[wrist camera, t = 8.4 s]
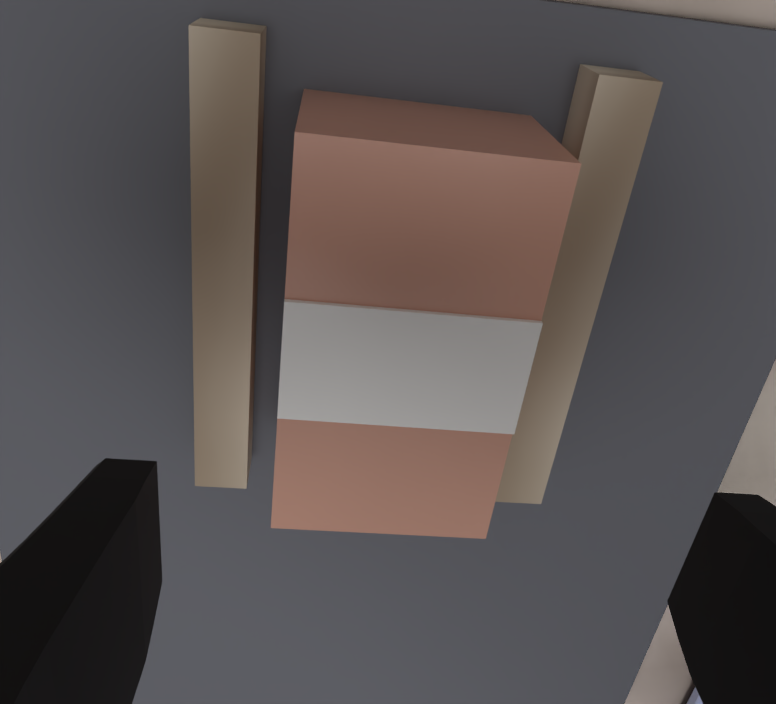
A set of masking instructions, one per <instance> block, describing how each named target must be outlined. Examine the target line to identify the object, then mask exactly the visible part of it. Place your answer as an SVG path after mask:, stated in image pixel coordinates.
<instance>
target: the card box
mask: <svg viewBox="0 0 776 704" xmlns="http://www.w3.org/2000/svg"><path fill="white" fill-rule="evenodd" d="M580 168H581V163H580V162H579V161H578V160H577V159H576V158H575V157H574V156H573V155H572V154H571V153H570V152H569V151H568V150H567V149H566V148H564V147H563V146H562V145H561V144H560V143H559V142H558V141H557V140H556V139H555V138H554V137H553V136H552V135H551V134H550V133H549V132H548V131H547V130H546V129H545V128H543V127H542V126H541V125H540V124H539V123H538V122H537V121H536V120H535V119H534V118H533V117H532V116H531V115H523V114H514V113H506V112H497V111H489V110H480V109H472V108H463V107H455V106H446V105H438V104H430V103H421V102H413V101H404V100H396V99H387V98H379V97H370V96H362V95H353V94H345V93H336V92H328V91H319V90H311V89H304V91H303V95H302V100H301V105H300V109H299V114H298V119H297V123H296V128H295V134H294V150H293V167H292V183H291V200H290V217H289V233H288V250H287V266H286V283H285V299H284V312H283V329H282V346H281V362H280V379H279V396H278V412H277V432H276V449H275V465H274V482H273V498H272V515H271V528H279V529H299V530H319V531H339V532H358V533H378V534H398V535H418V536H438V537H458V538H478V539H486V536H487V532H488V528H489V524H490V520H491V517H492V513H493V509H494V505H495V501H496V497H497V493H498V489H499V485H500V481H501V477H502V473H503V470H504V466H505V462H506V458H507V454H508V450H509V446H510V442H511V438H512V434H515V430H516V426H517V422H518V418H519V414H520V410H521V406H522V403H523V399H524V395H525V391H526V387H527V383H528V379H529V375H530V371H531V368H532V364H533V360H534V356H535V352H536V348H537V344H538V340H539V336H540V332H541V329H542V325H543V323H542V317H543V313H544V309H545V305H546V301H547V297H548V293H549V289H550V285H551V281H552V278H553V274H554V270H555V266H556V262H557V258H558V254H559V250H560V246H561V242H562V238H563V234H564V230H565V227H566V223H567V219H568V215H569V211H570V207H571V203H572V199H573V195H574V191H575V187H576V183H577V180H578V176H579V172H580Z"/></svg>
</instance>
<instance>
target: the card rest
mask: <svg viewBox="0 0 776 704" xmlns="http://www.w3.org/2000/svg"><path fill="white" fill-rule="evenodd" d="M266 29H267V26H263V25H255V24H246V23H238V22H230V21H222V20H214V19H205V18H199V19H198V20H196V21H194V22H193V23H191V24H190V25H189V96H190V168H191V240H192V312H193V384H194V457H195V486H204V487H223V488H242V489H247V483H248V477H249V471H250V465H251V459H252V437H253V407H254V378H255V349H256V320H257V291H258V262H259V233H260V204H261V175H262V146H263V117H264V88H265V58H266ZM662 84H663V82H662V81H659V80H657V79H655V78H653V77H651V76H649V75H647V74H644V73H642V72H640V71H633V70H625V69H617V68H609V67H601V66H592V65H584V64H580V67H579V71H578V76H577V80H576V84H575V88H574V93H573V97H572V101H571V106H570V110H569V114H568V118H567V123H566V127H565V131H564V136H563V140H562V144H561V145H562V146H563V147H564V148H566V149H567V150H568V151H569V152H570V153H571V154H572V155H573V156H574V157H575V158H576V159H577V160H578V161H579V162H580V163H581V168H580V172H579V176H578V180H577V183H576V187H575V191H574V195H573V199H572V203H571V207H570V211H569V215H568V219H567V223H566V227H565V230H564V234H563V238H562V242H561V246H560V250H559V254H558V258H557V262H556V266H555V270H554V274H553V278H552V281H551V285H550V289H549V293H548V297H547V301H546V305H545V309H544V313H543V317H542V323H543V325H542V329H541V332H540V336H539V340H538V344H537V348H536V352H535V356H534V360H533V364H532V368H531V371H530V375H529V379H528V383H527V387H526V391H525V395H524V399H523V403H522V406H521V410H520V414H519V418H518V422H517V426H516V430H515V434H512V438H511V442H510V446H509V450H508V454H507V458H506V462H505V466H504V470H503V473H502V477H501V481H500V485H499V489H498V493H497V497H496V501H495V502H510V503H529V504H541V503H542V499H543V496H544V492H545V489H546V485H547V482H548V478H549V475H550V471H551V468H552V465H553V461H554V458H555V454H556V451H557V447H558V444H559V440H560V437H561V433H562V430H563V426H564V423H565V420H566V416H567V413H568V409H569V406H570V402H571V399H572V395H573V392H574V388H575V385H576V382H577V378H578V375H579V371H580V368H581V364H582V361H583V357H584V354H585V350H586V347H587V344H588V340H589V337H590V333H591V330H592V326H593V323H594V319H595V316H596V312H597V309H598V306H599V302H600V299H601V295H602V292H603V288H604V285H605V281H606V278H607V274H608V271H609V268H610V264H611V261H612V257H613V254H614V250H615V247H616V243H617V240H618V236H619V233H620V230H621V226H622V223H623V219H624V216H625V212H626V209H627V205H628V202H629V198H630V195H631V191H632V188H633V185H634V181H635V178H636V174H637V171H638V167H639V164H640V160H641V157H642V153H643V150H644V147H645V143H646V140H647V136H648V133H649V129H650V126H651V122H652V119H653V115H654V112H655V109H656V105H657V102H658V98H659V95H660V91H661V88H662Z"/></svg>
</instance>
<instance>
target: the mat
mask: <svg viewBox="0 0 776 704" xmlns="http://www.w3.org/2000/svg"><path fill="white" fill-rule="evenodd" d="M199 18H205V19H214V20H222V21H230V22H238V23H246V24H255V25H263V26H267V29H266V58H265V88H264V117H263V146H262V175H261V204H260V233H259V262H258V291H257V320H256V349H255V378H254V407H253V437H252V459H251V465H250V471H249V477H248V483H247V489H242V488H223V487H204V486H195V457H194V384H193V312H192V240H191V168H190V96H189V25H190V24H191V23H193V22H194V21H196V20H198V19H199ZM580 64H584V65H592V66H601V67H609V68H617V69H625V70H633V71H640V72H642V73H644V74H647V75H649V76H651V77H653V78H655V79H657V80H659V81H662V82H663V84H662V88H661V91H660V95H659V98H658V102H657V105H656V109H655V112H654V115H653V119H652V122H651V126H650V129H649V133H648V136H647V140H646V143H645V147H644V150H643V153H642V157H641V160H640V164H639V167H638V171H637V174H636V178H635V181H634V185H633V188H632V191H631V195H630V198H629V202H628V205H627V209H626V212H625V216H624V219H623V223H622V226H621V230H620V233H619V236H618V240H617V243H616V247H615V250H614V254H613V257H612V261H611V264H610V268H609V271H608V274H607V278H606V281H605V285H604V288H603V292H602V295H601V299H600V302H599V306H598V309H597V312H596V316H595V319H594V323H593V326H592V330H591V333H590V337H589V340H588V344H587V347H586V350H585V354H584V357H583V361H582V364H581V368H580V371H579V375H578V378H577V382H576V385H575V388H574V392H573V395H572V399H571V402H570V406H569V409H568V413H567V416H566V420H565V423H564V426H563V430H562V433H561V437H560V440H559V444H558V447H557V451H556V454H555V458H554V461H553V465H552V468H551V471H550V475H549V478H548V482H547V485H546V489H545V492H544V496H543V499H542V503H541V504H529V503H510V502H495V505H494V509H493V513H492V517H491V520H490V524H489V528H488V532H487V536H486V539H478V538H458V537H438V536H418V535H398V534H378V533H358V532H339V531H319V530H299V529H279V528H271V515H272V498H273V482H274V465H275V449H276V432H277V412H278V396H279V379H280V362H281V346H282V329H283V312H284V299H285V283H286V266H287V250H288V233H289V217H290V200H291V183H292V167H293V150H294V134H295V128H296V123H297V119H298V114H299V109H300V105H301V100H302V95H303V91H304V89H311V90H319V91H328V92H336V93H345V94H353V95H362V96H370V97H379V98H387V99H396V100H404V101H413V102H421V103H430V104H438V105H446V106H455V107H463V108H472V109H480V110H489V111H497V112H506V113H514V114H523V115H531V116H532V117H533V118H534V119H535V120H536V121H537V122H538V123H539V124H540V125H541V126H542V127H543V128H545V129H546V130H547V131H548V132H549V133H550V134H551V135H552V136H553V137H554V138H555V139H556V140H557V141H558V142H559V143H560V144H562V140H563V136H564V131H565V127H566V123H567V118H568V114H569V110H570V106H571V101H572V97H573V93H574V88H575V84H576V80H577V76H578V71H579V67H580ZM775 359H776V30H775V29H767V28H759V27H752V26H744V25H736V24H729V23H721V22H713V21H706V20H698V19H691V18H683V17H675V16H668V15H660V14H652V13H645V12H637V11H629V10H622V9H614V8H606V7H599V6H591V5H584V4H576V3H568V2H561V1H553V0H0V553H1V558H2V561H3V560H4V559H5V558H6V557H7V556H8V555H10V554H11V553H12V552H13V551H14V550H15V549H16V548H17V547H18V546H19V545H20V544H21V543H22V542H23V541H24V540H25V539H26V538H27V537H28V536H29V535H30V534H31V533H32V532H33V531H34V530H35V529H36V528H37V527H38V526H39V525H40V524H41V523H42V522H43V521H44V520H45V519H46V518H47V517H48V516H49V515H50V514H51V513H52V512H53V510H54V509H55V508H56V507H57V506H58V505H59V504H60V503H61V502H62V501H63V500H64V499H65V498H66V497H67V496H68V495H69V494H70V493H71V492H72V491H73V490H74V488H75V487H76V486H77V485H78V484H79V483H80V482H81V481H82V480H83V479H84V478H85V477H86V476H87V475H88V474H89V473H90V471H91V470H92V469H93V468H94V467H95V466H96V465H97V464H99V463H100V462H101V461H103V460H104V459H105V458H112V459H130V460H148V461H157V473H158V495H159V517H160V539H161V561H162V586H161V591H160V596H159V601H158V606H157V611H156V616H155V621H154V625H153V630H152V635H151V639H150V644H149V649H148V653H147V658H146V662H145V665H144V668H143V671H142V674H141V678H140V681H139V684H138V687H137V690H136V693H135V696H134V699H133V702H132V704H624V703H625V700H626V698H627V696H628V694H629V691H630V689H631V687H632V685H633V682H634V680H635V678H636V675H637V673H638V671H639V669H640V666H641V664H642V662H643V659H644V657H645V655H646V653H647V650H648V648H649V646H650V644H651V641H652V639H653V637H654V634H655V632H656V630H657V628H658V625H659V623H660V621H661V618H662V616H663V614H664V612H665V609H666V607H667V605H668V602H667V600H668V598H669V596H670V593H671V591H672V589H673V587H674V584H675V582H676V580H677V577H678V575H679V573H680V571H681V568H682V566H683V564H684V561H685V559H686V557H687V554H688V552H689V550H690V548H691V545H692V543H693V541H694V538H695V536H696V534H697V532H698V529H699V527H700V525H701V522H702V520H703V518H704V515H705V513H706V511H707V509H708V506H709V504H710V502H711V499H712V497H713V495H714V493H715V492H716V493H717V491H718V489H719V486H720V484H721V482H722V479H723V477H724V475H725V473H726V470H727V468H728V466H729V464H730V461H731V459H732V457H733V454H734V452H735V450H736V448H737V445H738V443H739V441H740V438H741V436H742V434H743V432H744V429H745V427H746V425H747V423H748V420H749V418H750V416H751V413H752V411H753V409H754V407H755V404H756V402H757V400H758V397H759V395H760V393H761V391H762V388H763V386H764V384H765V382H766V379H767V377H768V375H769V372H770V370H771V368H772V366H773V363H774V361H775Z"/></svg>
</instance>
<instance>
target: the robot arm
mask: <svg viewBox="0 0 776 704" xmlns="http://www.w3.org/2000/svg"><path fill="white" fill-rule="evenodd" d="M161 586H162V561H161V539H160V517H159V495H158V473H157V461H148V460H130V459H112V458H105V459H104V460H103V461H101V462H100V463H99V464H97V465H96V466H95V467H94V468H93V469H92V470H91V471H90V473H89V474H88V475H87V476H86V477H85V478H84V479H83V480H82V481H81V482H80V483H79V484H78V485H77V486H76V487H75V488H74V490H73V491H72V492H71V493H70V494H69V495H68V496H67V497H66V498H65V499H64V500H63V501H62V502H61V503H60V504H59V505H58V506H57V507H56V508H55V509H54V510H53V512H52V513H51V514H50V515H49V516H48V517H47V518H46V519H45V520H44V521H43V522H42V523H41V524H40V525H39V526H38V527H37V528H36V529H35V530H34V531H33V532H32V533H31V534H30V535H29V536H28V537H27V538H26V539H25V540H24V541H23V542H22V543H21V544H20V545H19V546H18V547H17V548H16V549H15V550H14V551H13V552H12V553H11V554H10V555H8V556H7V557H6V558H5V559H4V560H3V561H2V562H1V563H0V704H132V702H133V699H134V696H135V693H136V690H137V687H138V684H139V681H140V678H141V674H142V671H143V668H144V665H145V662H146V658H147V653H148V649H149V644H150V639H151V635H152V630H153V625H154V621H155V616H156V611H157V606H158V601H159V596H160V591H161ZM667 602H668V605H669V609H670V612H671V615H672V619H673V622H674V626H675V629H676V632H677V636H678V639H679V642H680V645H681V648H682V651H683V654H684V657H685V660H686V663H687V666H688V669H689V672H690V675H691V678H692V680H693V682H694V684H695V688H694V690H693V692H692V694H691V696H690V698H689V700H688V702H687V704H776V506H774V505H773V504H771V503H770V502H768V501H767V500H765V499H764V498H762V497H760V496H759V495H752V494H734V493H716V492H715V493H714V495H713V497H712V499H711V502H710V504H709V506H708V509H707V511H706V513H705V515H704V518H703V520H702V522H701V525H700V527H699V529H698V532H697V534H696V536H695V538H694V541H693V543H692V545H691V548H690V550H689V552H688V554H687V557H686V559H685V561H684V564H683V566H682V568H681V571H680V573H679V575H678V577H677V580H676V582H675V584H674V587H673V589H672V591H671V593H670V596H669V598H668V600H667Z"/></svg>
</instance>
